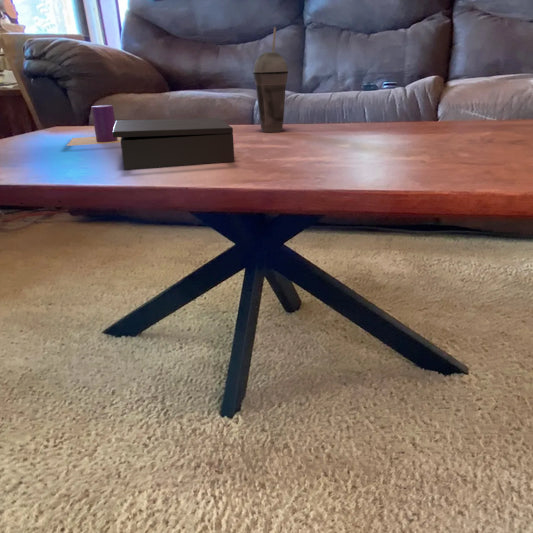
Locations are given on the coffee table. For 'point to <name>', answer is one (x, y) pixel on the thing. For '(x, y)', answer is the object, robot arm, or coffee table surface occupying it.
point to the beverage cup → (271, 89)
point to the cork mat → (89, 141)
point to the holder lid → (170, 127)
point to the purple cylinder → (104, 122)
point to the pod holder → (176, 150)
